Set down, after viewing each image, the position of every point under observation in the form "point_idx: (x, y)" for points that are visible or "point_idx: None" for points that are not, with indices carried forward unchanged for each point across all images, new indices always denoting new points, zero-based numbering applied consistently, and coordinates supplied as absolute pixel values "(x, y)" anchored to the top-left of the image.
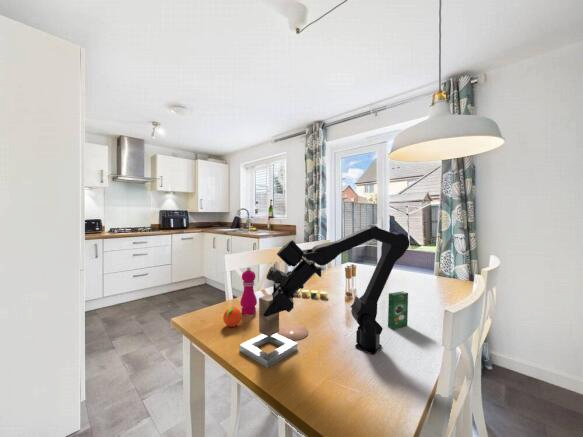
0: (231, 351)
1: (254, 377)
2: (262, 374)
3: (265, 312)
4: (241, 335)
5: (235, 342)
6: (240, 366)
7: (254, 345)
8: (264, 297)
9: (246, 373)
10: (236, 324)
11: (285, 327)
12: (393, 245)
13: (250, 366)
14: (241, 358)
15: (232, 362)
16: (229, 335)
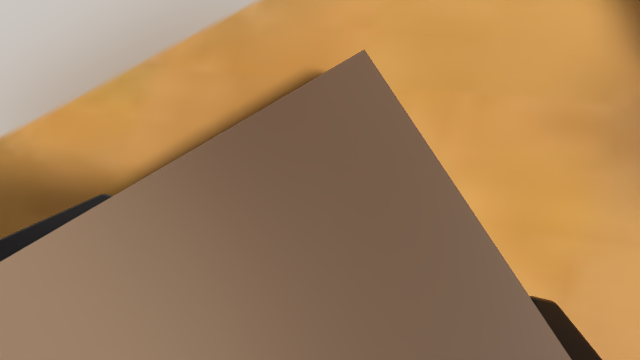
0: (376, 24)
1: (17, 147)
2: (27, 202)
3: (46, 229)
4: (616, 116)
5: (504, 60)
6: (167, 71)
7: None
8: (346, 247)
9: (77, 102)
10: None
11: None
12: None
13: (143, 136)
14: (261, 86)
15: (231, 24)
16: (636, 20)
